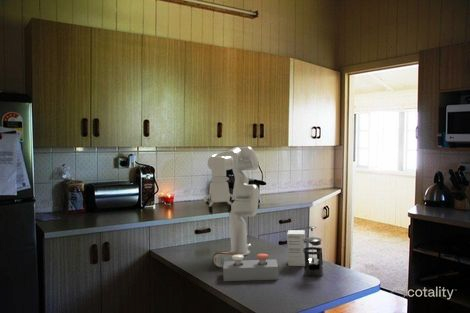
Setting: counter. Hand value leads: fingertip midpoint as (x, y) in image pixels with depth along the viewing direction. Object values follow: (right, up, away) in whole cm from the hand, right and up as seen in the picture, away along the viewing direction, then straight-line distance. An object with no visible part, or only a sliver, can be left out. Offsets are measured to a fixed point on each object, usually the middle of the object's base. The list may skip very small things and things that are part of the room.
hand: (220, 213), depth 201 cm
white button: (+9, -24, -11) cm, 28 cm away
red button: (+21, -24, -12) cm, 34 cm away
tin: (+3, -30, +4) cm, 30 cm away
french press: (+46, -28, -12) cm, 55 cm away
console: (+15, -29, -12) cm, 35 cm away
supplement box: (+41, -28, +6) cm, 50 cm away
